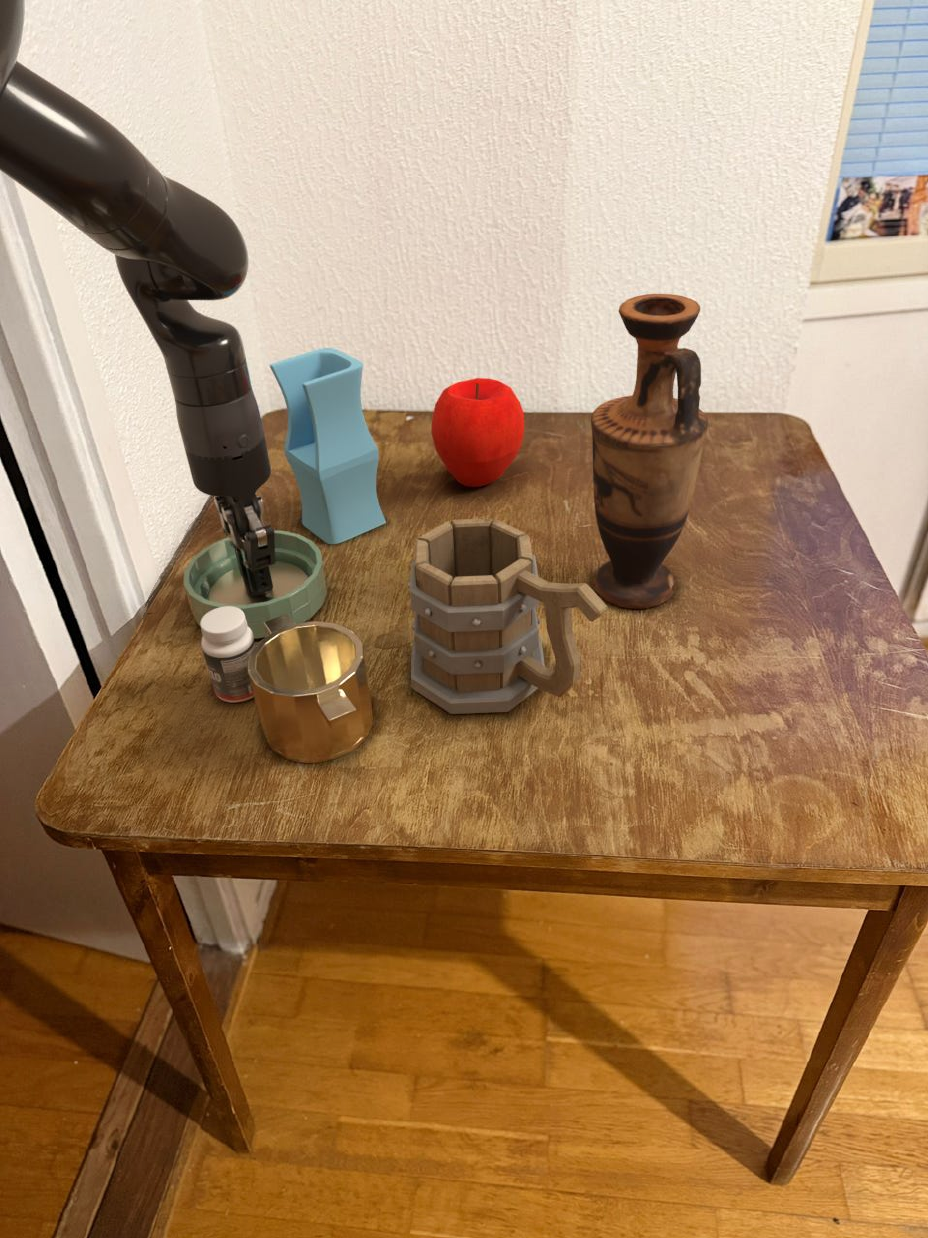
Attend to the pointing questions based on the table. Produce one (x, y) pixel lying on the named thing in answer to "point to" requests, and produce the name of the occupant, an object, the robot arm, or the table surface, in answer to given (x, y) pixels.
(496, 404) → the apple
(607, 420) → the vase
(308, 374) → the vase
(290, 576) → the pot lid
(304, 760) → the pot
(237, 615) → the pill bottle
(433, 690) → the tankard
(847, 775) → the table surface
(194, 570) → the bowl
